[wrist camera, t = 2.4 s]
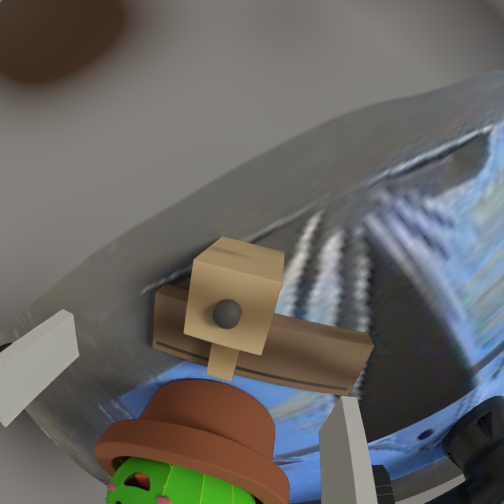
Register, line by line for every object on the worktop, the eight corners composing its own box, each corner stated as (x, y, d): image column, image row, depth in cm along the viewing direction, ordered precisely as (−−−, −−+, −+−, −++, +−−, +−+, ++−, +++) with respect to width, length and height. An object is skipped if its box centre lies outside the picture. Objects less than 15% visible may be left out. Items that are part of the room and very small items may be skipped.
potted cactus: (308, 451, 32) (300, 592, 8) (185, 458, 36) (141, 565, 12) (261, 346, 28) (205, 589, 4) (115, 369, 32) (15, 489, 8)
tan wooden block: (255, 358, 28) (242, 416, 20) (202, 343, 29) (174, 396, 20) (284, 252, 25) (282, 287, 16) (221, 236, 25) (188, 263, 17)
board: (344, 381, 28) (347, 396, 25) (161, 336, 29) (152, 348, 27) (368, 333, 26) (374, 346, 23) (166, 283, 27) (155, 292, 25)
